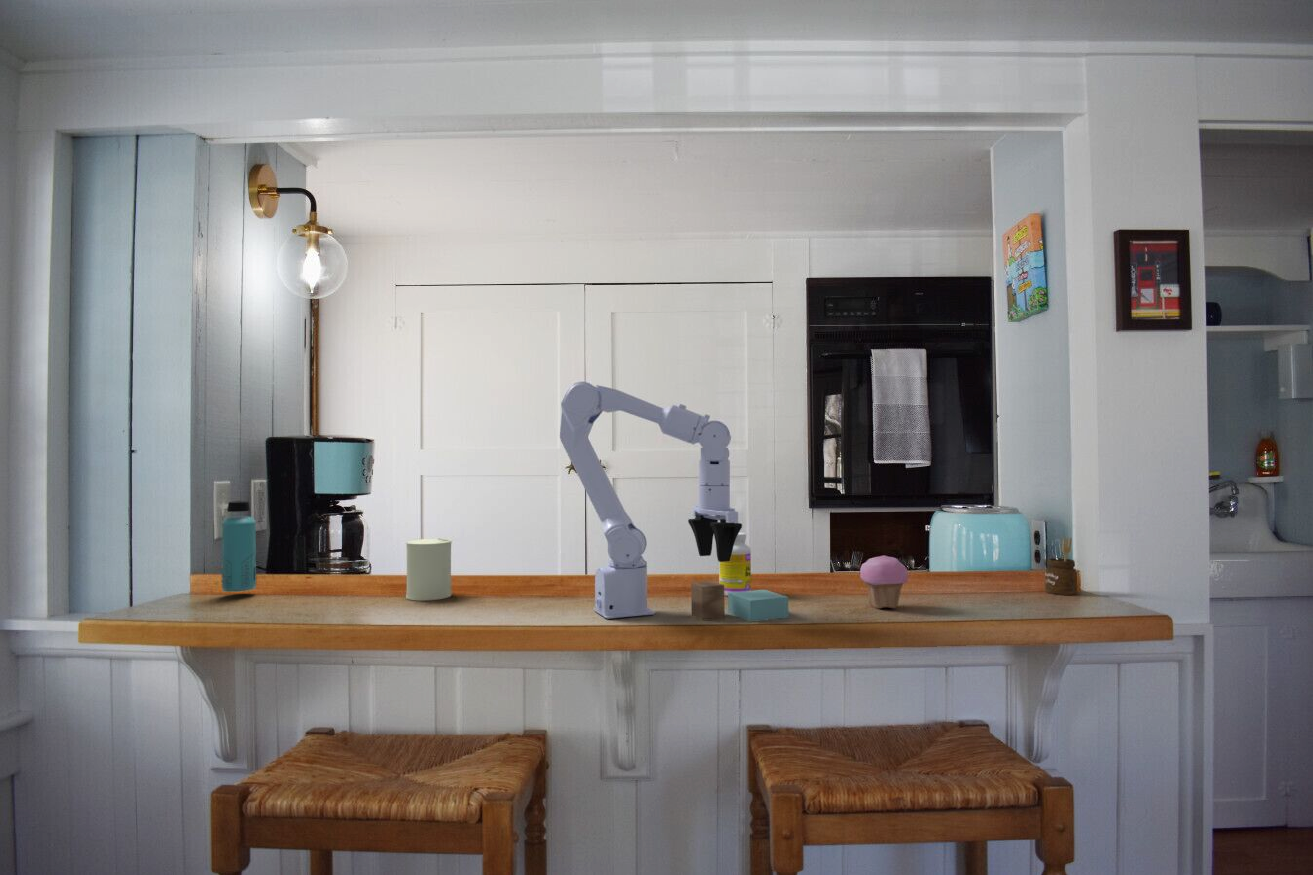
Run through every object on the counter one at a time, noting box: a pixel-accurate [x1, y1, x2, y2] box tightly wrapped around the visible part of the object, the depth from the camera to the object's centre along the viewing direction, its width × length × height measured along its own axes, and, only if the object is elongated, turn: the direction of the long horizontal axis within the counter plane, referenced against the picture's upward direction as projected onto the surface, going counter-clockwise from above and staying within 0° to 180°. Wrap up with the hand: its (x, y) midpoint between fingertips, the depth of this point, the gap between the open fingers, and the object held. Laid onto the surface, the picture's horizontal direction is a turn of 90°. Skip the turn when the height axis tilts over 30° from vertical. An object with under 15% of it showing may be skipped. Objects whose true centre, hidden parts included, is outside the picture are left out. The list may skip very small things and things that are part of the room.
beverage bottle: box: [220, 500, 258, 593], centre depth 154 cm, size 6×7×20 cm
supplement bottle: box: [718, 531, 752, 597], centre depth 155 cm, size 7×7×13 cm
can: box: [405, 538, 453, 602], centre depth 154 cm, size 9×9×12 cm
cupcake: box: [859, 555, 909, 610], centre depth 141 cm, size 9×9×10 cm
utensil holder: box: [1044, 537, 1078, 596], centre depth 155 cm, size 6×6×12 cm
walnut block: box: [690, 580, 726, 621], centre depth 134 cm, size 4×4×6 cm
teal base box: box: [727, 589, 789, 622], centre depth 135 cm, size 8×8×4 cm
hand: (714, 558), depth 136 cm, fingers open, 7 cm apart
